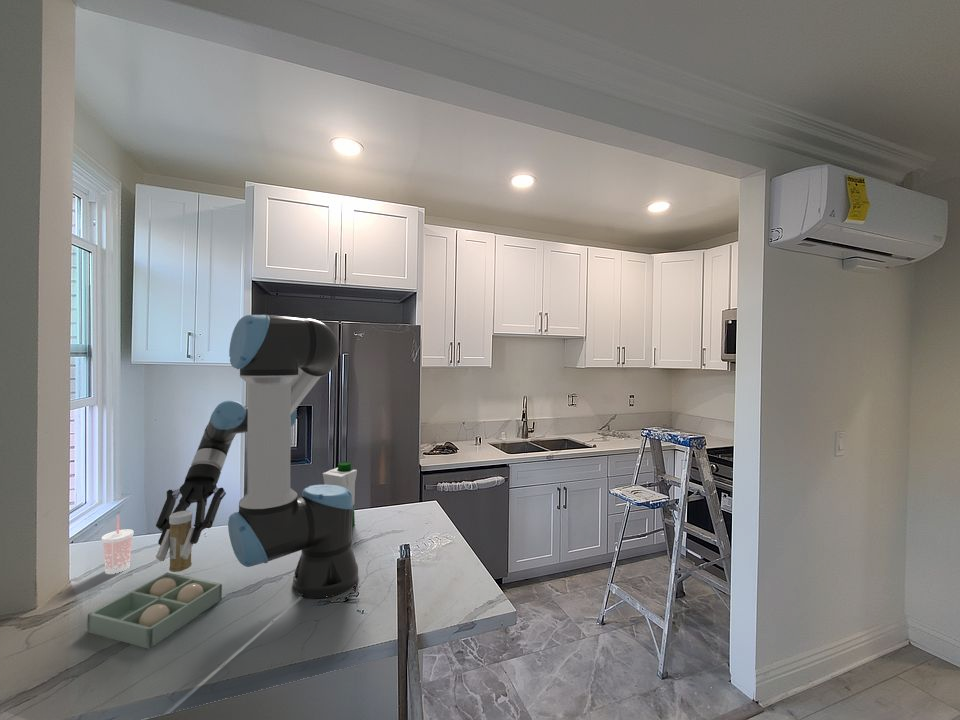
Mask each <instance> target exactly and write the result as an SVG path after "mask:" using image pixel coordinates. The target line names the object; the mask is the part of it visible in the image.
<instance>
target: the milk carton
mask: <svg viewBox="0 0 960 720" xmlns="http://www.w3.org/2000/svg"><path fill="white" fill-rule="evenodd" d="M357 473H358V470H357V469H354V468H352V463H351V462H349V461H343V462H342V461H341V462H338V464H337V467H336V468H335V467H334V468H333V469H329V470H328V471H325V472H322V478H323V482H324V483H323V484H324V485H337V486H341V487H344V488H347V489H348V490H349V491H350V492H351V493H352V501H353V509H352V526H354V525H356V524H355V520H356V519H355V498H356V497H355V493H356V492H355V491H356V489H355V486H356V480H357V475H358V474H357Z"/></svg>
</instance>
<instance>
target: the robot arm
mask: <svg viewBox="0 0 960 720" xmlns="http://www.w3.org/2000/svg"><path fill="white" fill-rule="evenodd" d="M228 353H229V354H228V356H229V362H230V365H231V366H232V368H234V369H236V370H239V378H241V379H242V380H243V381H244V382H245V383H246V384H247V405H243V404H242V403H241V402H239V401H235V400H232V399H231V400H224V401H222V402H220V403H219V404H218V405H217V406H216V407H215V408H214V410H213V412H212V413H211V414H210V415H211V416H210V417H209V418H210V419H209V421H208V424H207V425H206V426H205V429H204V432H203V434H202V436H201V438H200V439H201V440H200V442H199V445H198V447H197V449H196V452H195V455H194V456H193V459H192V461H191V464H190V467H189V469H188V471H187V474H186V476H185V479H184V483H183V484H182V485H181V486H180V487H179V488H177V489H174V490H173V489H168V490H167V491H166V500H165V502H164V504H163V507H162V509H161V512H160V515H159V517H158V519H157V521H156V524H155V527H156V528H157V529H158V530H159V531H161V533H160V537H159V539H158V545H159V548H158V551H157V553H156V556H155V558H156V559H157V560H158V561H160V562H165V561H166V557H167V554H168V551H170V524H169V516H170V515H171V514H173V513H176V512H179V511H187V509H188V508H189V507H190V506H191V505H192V504H194V503H196V507H195V508H196V510H195V517H194V518H195V520H194V523H193V525H192V526H194V527H191V528H190V530H189V532H188V535H187V538H186V540H185V543H184V546H183V549H182V551H181V554H180V556H181V557H182V558H183V559H184V560H187V559H188V557H189V554H190V551H191V549H193V545H194V544H195V545H196V544H197V543H198V542H199V539H200V537H201V533H202V532H203V530H205V529H210V528H212V527H213V525H214V521H215V518H216V515H217V514H218V513H217V512H218V510H219V507H220V505H221V501H222V500H223V499H224V497H225V496H226V494H227V492H226V490H225V489H224V487H217V484H218V483H219V482H218V481H219V479H220V477H221V473H222V470H223V468H224V464H225V462H226V460H227V459H226V458H227V456H228V453H229V451H230V448H231V445H232V442H233V440H234V439H235V437H236V435H237V434H244V433H247V439H246V441H247V443H246V445H247V447H246V448H247V450H246V451H247V455H246V457H247V458H246V459H247V461H246V463H247V464H246V465H247V466H246V467H247V469H246V470H247V472H246V473H247V474H246V493H245V495H244V496H243V497H242V498H241V499H240V500H239V502H238V511H236V512H233V513H231V514H230V515H229V517H228V521H227V522H228V524H227V527H228V535H229V540H230V545H231V547H232V550H233V553H234V556H235V558H236V559H237V561H238V562H239V563H240V564H241V565H242V566H243V567H247V568H249V567H255V566H258V565H262V564H267V563H269V562H271V561H274V560H277V559H279V558H283V557H286V556H289V555H291V554H293V553H294V554H295V553H296V552H300V551H301V553H300V556H299V560H298V562H297V564H296V568H295V570H294V573H293V579H292V587H293V590H294V591H295V592H297V594H300V595H301V597H303V598H307V599H323V598H324V597H325V598H327V597H326V596H330V597H333V596H332V595H334V596H338V595H340V594H342V593H344V592H346V591H348V590H349V589H351V588H352V587H353V586H354V585H355V583H357V581H358V578H359V566H358V563H357V559H356V557H355V552H354V550H353V545H352V543H353V542H352V540H353V539H352V537H353V530H352V529H353V525H352V509H353V501H352V493H351V492H350V491H349V490H348V489H347V488H344V487H341V486H337V485H325V484H313V485H309V486H307V487H305V488H303V490H302V492H301V496H300V497H298V493H297V492H296V491H295V490H294V489H293V488H291V458H292V457H291V455H292V454H291V445H292V444H291V443H292V441H291V440H292V439H291V436H292V434H291V433H292V431H291V428H292V427H293V426H294V425H296V424H295V423H297V422H296V421H297V416H298V414H297V413H298V412H297V409H298V407H299V405H301V403H302V402H303V400H304V399H305V398H306V396H307V395H308V394H309V393H310V391H312V389H313V387H314V386H315V385H316V384H317V382H318V381H319V380H320V379H321V377H325V376H326V375H328V374H329V373H331V371H332V370H333V368H334V367H335V365H336V363H337V362H338V359H339V354H340V345H339V341H338V339H337V336H336V335H335V333H334V331H332V329H331V328H330V327H329V326H328V325H326V324H325V323H324V322H321V321H320V320H317V319H313V318H303V317H302V318H301V317H292V316H280V315H271V314H247V315H244V316H242V317H241V318H240V319H239V320H238V321H237V322H236V324H235V327H234V329H233V331H232V334H231V338H230V342H229V351H228ZM180 495H181V497H180V499H179V496H180ZM212 495H213V496H212ZM211 496H212V499H211V500H210V504H209V507H208V509H207V512H206V506H207V504H208V503H207V502H208V499H209V498H210V497H211ZM178 499H179V501H178V504H177V506H176V507H175V505H176V502H177V500H178ZM174 507H175V508H174ZM191 552H192V551H191ZM325 598H324V599H325Z"/></svg>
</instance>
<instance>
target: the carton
mask: <svg viewBox="0 0 960 720" xmlns="http://www.w3.org/2000/svg"><path fill="white" fill-rule="evenodd" d="M162 578H172V579H173V580H175V582H176V585H177V587H176V588H174V589H173V590H171V591H169V592H167V593H166V594H164V595H162V596H160V597H158V596H153V595H149V592H150V589H151V587H152V585H153V584H154V583H155V582H156V581H158V580H160V579H162ZM192 583H196V584H199V585H201V586H202V588H203V591H204V594H202V595H200V596H199V597H197V598H196V599H194V600H193V601H191V602H189V603H184V602H180V601H177V595H178V593H179V592H180V590H181V589H182V588H183V587H185V586H186V585H188V584H192ZM222 594H223V585H222V583H220V582H215V581H210V580H205V579H201V578H197V577H191V576H188V575H187V576H185V575H181V574H178V573H177V574H176V573H173V572H165V573H163V574H162V575H159V576H157V577H156V578H154V579H152V580H150V581H148V582H147V583H145V584H143V585H141V586H139V587H136V588H135V589H133V590H131V591H129V592H127V593H125V594H123V595H121V596H120V597H117V598H116V599H114V600H112V601H110V602H109V603H107V604H105V605H103V606H101V607H98V608H97V609H95V610H93V611H91V612H89V613H87V631H86V632H87V633H90V634H94V635H98V636H101V637H105V638H108V639H113V640H117V641H120V642H124V643H127V644H131V645H135V646H139V647H142V648H145V649H151V648H152V647H154V646H155V645H156V644H158V643H160V642H161V641H162V640H163V639H165V638H167V637H168V636H170V635H171V634H173V633H174V632H175V631H177V630H178V629H180V628H182V627H183V626H185V625H186V624H187V623H189V622H190V621H192V620H193V619H195V618H196V617H198V616H199V615H201V614H202V613H204V612H205V611H207V610H208V609H210V608H211V607H212V606H214V605H215V604H217V603H218V602H219V603H220V601H221V600H222V599H223V598H222V596H223V595H222ZM155 604H164V605H166V606H167V607H168V608H169V611H170V615H169V616H167V617H166V618H164V619H162V620H161V621H159V622H158V623H156V624H154V625H153V626H151V627H147V626H143V625H139V619H140V617H141V615H142V613H143V612H144V611H145V610H146V609H147V608H149V607H150V606H152V605H155Z"/></svg>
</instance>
